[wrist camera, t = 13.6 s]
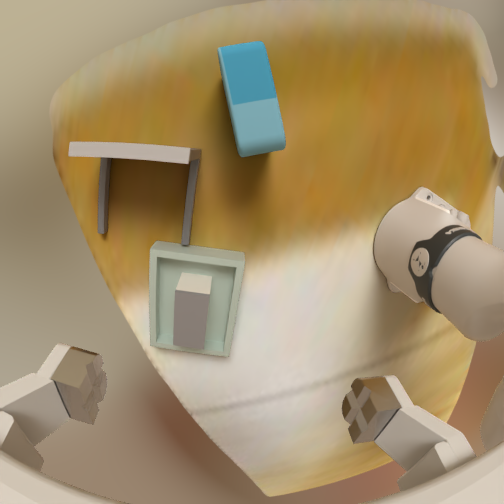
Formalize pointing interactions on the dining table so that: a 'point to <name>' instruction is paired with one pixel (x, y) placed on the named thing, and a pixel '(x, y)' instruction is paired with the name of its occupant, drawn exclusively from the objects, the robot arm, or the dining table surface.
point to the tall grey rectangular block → (191, 310)
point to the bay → (143, 153)
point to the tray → (221, 294)
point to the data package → (251, 98)
